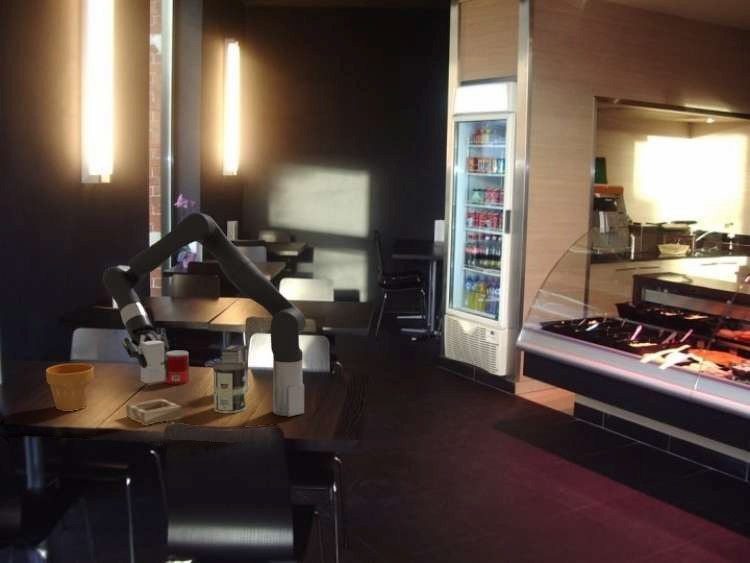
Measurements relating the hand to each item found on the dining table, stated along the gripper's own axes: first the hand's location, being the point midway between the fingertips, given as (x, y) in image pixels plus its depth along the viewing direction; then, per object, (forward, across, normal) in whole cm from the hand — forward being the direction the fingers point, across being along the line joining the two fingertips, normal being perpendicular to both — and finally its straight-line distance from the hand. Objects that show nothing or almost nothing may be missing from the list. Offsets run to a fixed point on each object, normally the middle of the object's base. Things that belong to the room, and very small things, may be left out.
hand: (155, 364), depth 246 cm
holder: (+11, 0, +13) cm, 17 cm away
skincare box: (+3, 0, +5) cm, 6 cm away
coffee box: (+5, +35, +19) cm, 40 cm away
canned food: (-12, +27, +37) cm, 47 cm away
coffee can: (+16, +23, +8) cm, 29 cm away
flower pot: (-7, -15, +32) cm, 36 cm away
